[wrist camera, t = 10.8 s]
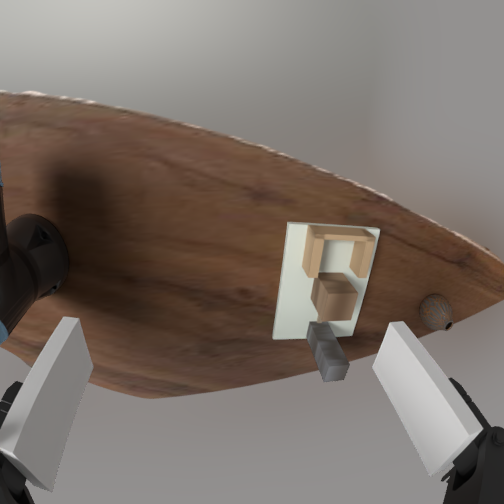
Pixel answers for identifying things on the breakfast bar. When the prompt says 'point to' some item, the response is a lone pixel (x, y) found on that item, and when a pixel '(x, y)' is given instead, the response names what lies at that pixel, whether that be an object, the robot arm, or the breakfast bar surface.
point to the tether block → (330, 309)
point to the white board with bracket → (320, 260)
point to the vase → (436, 313)
